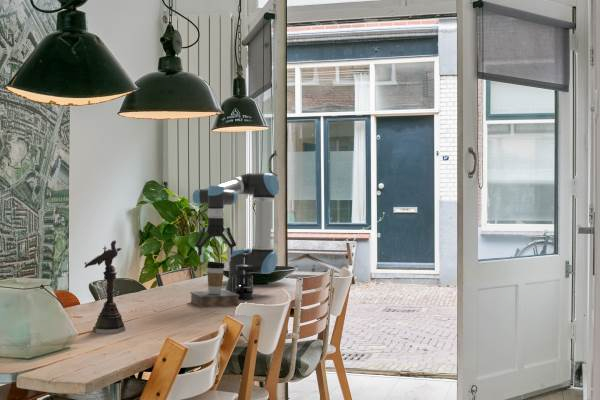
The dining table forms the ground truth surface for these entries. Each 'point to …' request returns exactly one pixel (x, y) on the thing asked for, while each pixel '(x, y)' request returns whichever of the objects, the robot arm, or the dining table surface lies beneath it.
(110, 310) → the bird statue
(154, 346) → the dining table surface
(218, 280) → the coffee cup
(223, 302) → the walnut stand
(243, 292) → the french press
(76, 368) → the dining table surface
